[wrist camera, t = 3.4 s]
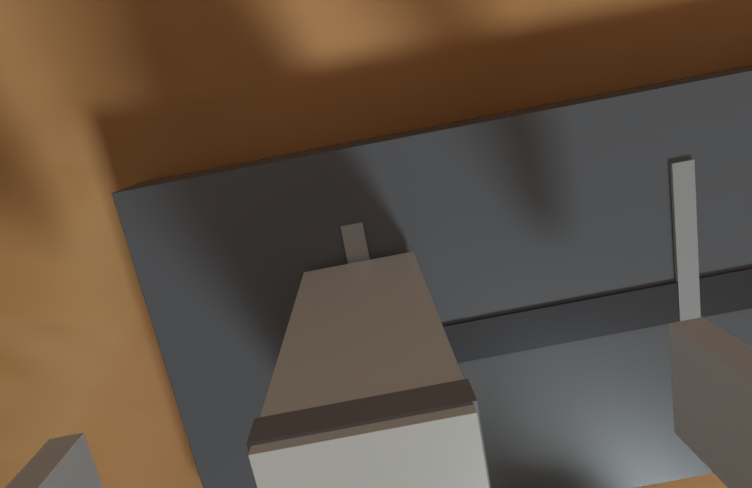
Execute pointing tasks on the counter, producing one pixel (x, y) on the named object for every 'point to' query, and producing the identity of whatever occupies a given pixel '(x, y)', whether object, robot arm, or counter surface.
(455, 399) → the fader knob
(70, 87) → the counter surface
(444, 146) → the fader console
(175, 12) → the counter surface
